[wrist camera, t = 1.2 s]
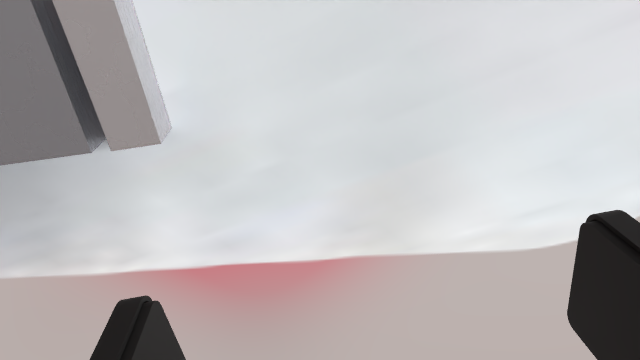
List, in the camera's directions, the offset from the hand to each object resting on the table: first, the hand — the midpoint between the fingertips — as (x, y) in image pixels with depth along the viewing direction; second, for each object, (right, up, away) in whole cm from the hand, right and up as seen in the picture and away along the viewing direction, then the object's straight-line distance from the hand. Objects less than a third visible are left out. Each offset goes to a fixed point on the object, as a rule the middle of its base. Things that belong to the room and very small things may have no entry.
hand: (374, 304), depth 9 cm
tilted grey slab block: (-15, +11, +20) cm, 27 cm away
